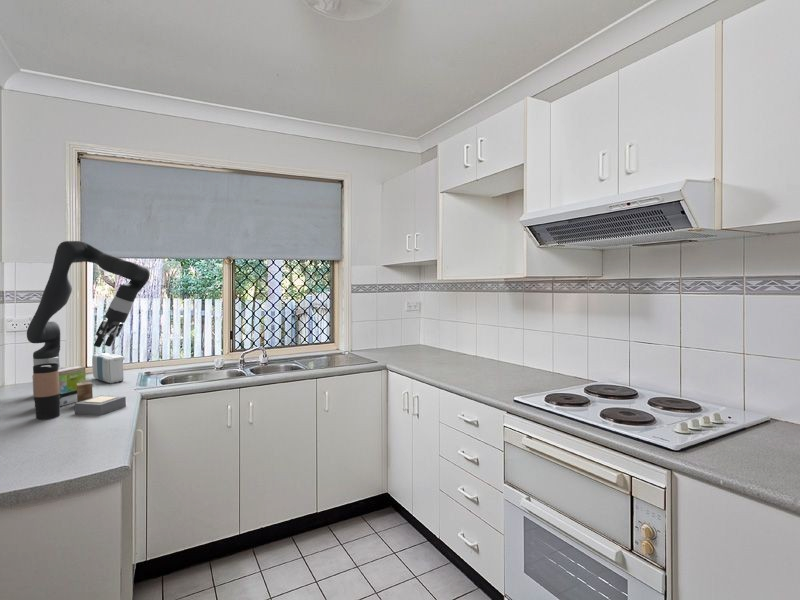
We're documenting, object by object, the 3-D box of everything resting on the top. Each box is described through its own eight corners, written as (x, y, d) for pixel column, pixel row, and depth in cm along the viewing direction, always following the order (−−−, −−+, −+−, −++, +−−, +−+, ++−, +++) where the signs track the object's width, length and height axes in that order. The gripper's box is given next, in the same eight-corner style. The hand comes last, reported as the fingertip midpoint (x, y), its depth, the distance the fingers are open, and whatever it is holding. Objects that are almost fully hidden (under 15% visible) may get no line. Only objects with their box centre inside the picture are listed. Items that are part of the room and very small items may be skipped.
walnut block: (78, 407, 184) (77, 385, 184) (77, 404, 188) (76, 383, 187) (92, 405, 187) (92, 383, 187) (92, 402, 191) (91, 381, 191)
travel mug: (39, 415, 173) (37, 364, 172) (63, 413, 176) (61, 362, 175) (31, 421, 166) (29, 367, 165) (56, 418, 169) (54, 366, 168)
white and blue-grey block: (92, 379, 235) (90, 341, 234) (109, 376, 242) (108, 339, 241) (108, 384, 223) (106, 344, 222) (126, 381, 229) (124, 342, 228)
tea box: (54, 409, 182) (52, 373, 181) (34, 407, 184) (32, 372, 183) (87, 399, 196) (85, 365, 196) (68, 398, 198) (66, 365, 198)
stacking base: (75, 413, 175) (74, 402, 175) (101, 404, 187) (100, 394, 187) (100, 415, 173) (100, 404, 173) (125, 406, 184) (125, 396, 184)
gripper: (118, 307, 192) (101, 342, 189) (101, 304, 177) (83, 343, 175) (135, 313, 192) (119, 348, 190) (120, 311, 178) (102, 350, 176)
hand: (102, 346), depth 183 cm, fingers open, 8 cm apart
